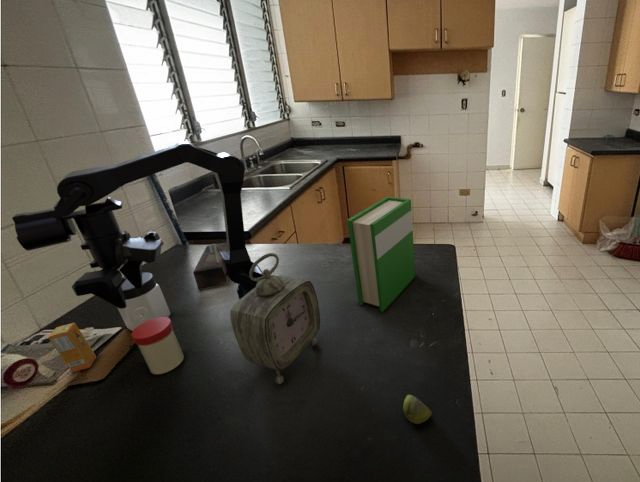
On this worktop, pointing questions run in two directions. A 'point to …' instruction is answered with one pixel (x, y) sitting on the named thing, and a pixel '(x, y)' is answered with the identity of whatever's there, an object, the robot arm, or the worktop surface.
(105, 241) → the robot arm
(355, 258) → the hardback book
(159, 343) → the jam jar
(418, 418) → the lime
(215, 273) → the beverage carton
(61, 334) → the supplement box
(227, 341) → the worktop surface
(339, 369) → the worktop surface
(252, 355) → the tabletop clock
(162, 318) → the jam lid
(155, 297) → the jar
